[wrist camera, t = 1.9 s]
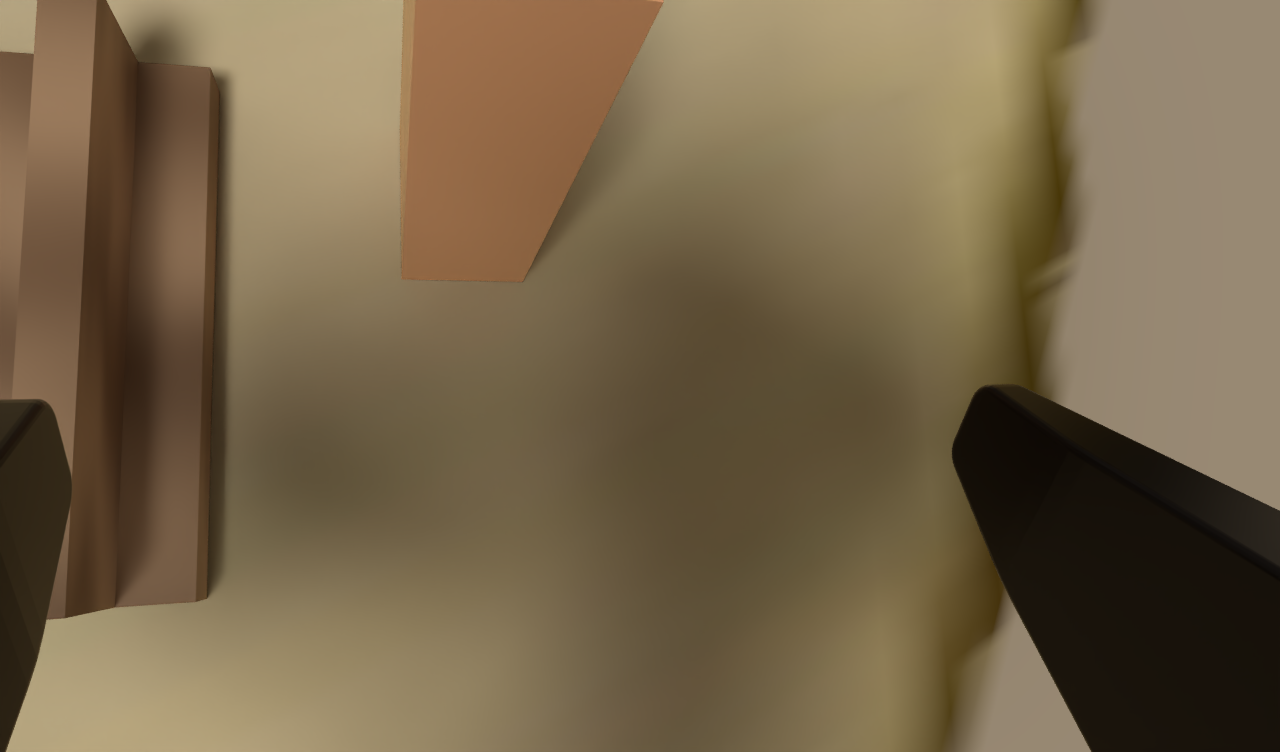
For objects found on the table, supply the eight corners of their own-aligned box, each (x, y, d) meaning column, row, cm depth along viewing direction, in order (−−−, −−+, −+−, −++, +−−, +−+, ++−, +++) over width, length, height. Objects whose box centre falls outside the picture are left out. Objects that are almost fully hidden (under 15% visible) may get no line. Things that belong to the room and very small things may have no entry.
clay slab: (522, 281, 23) (663, 1, 11) (401, 279, 22) (416, -25, 10) (517, 135, 24) (645, -274, 12) (399, 128, 23) (411, -319, 11)
